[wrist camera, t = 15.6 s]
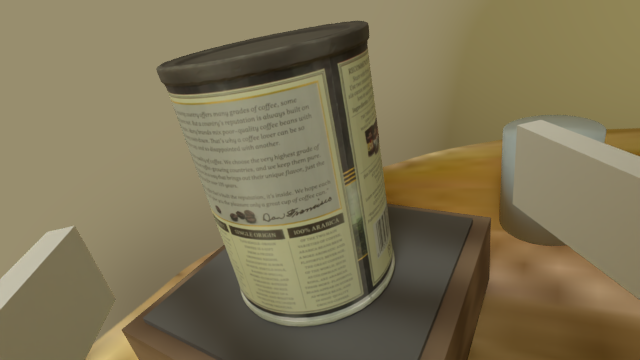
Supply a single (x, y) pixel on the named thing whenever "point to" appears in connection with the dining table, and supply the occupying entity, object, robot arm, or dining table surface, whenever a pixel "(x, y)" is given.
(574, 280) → the dining table surface
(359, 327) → the podium
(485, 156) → the dining table surface
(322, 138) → the coffee can
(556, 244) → the pale glossy cylinder
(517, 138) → the robot arm
